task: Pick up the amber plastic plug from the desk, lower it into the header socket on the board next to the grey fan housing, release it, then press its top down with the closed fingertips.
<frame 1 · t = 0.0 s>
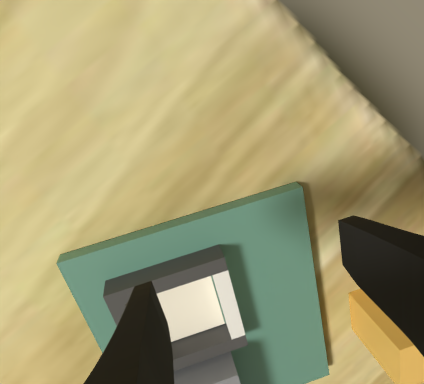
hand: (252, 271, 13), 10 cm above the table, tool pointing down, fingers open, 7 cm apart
plug: (372, 303, 29), on the table
board: (213, 319, 26), on the table
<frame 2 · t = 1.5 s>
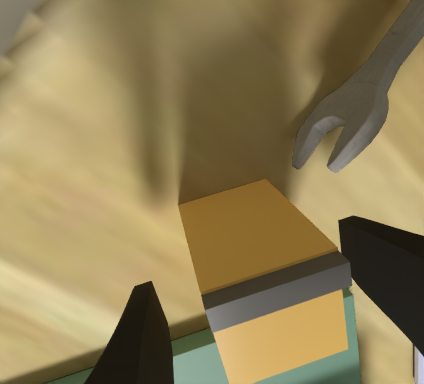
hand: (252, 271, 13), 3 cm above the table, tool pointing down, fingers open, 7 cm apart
plug: (231, 230, 16), on the table
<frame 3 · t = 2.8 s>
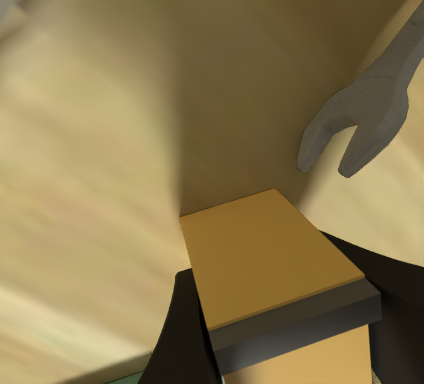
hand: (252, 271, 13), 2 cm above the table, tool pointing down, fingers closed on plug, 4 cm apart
plug: (237, 244, 14), on the table, touching gripper
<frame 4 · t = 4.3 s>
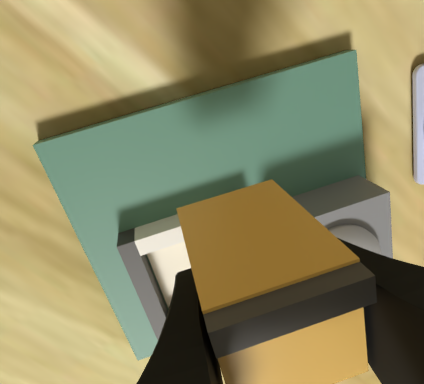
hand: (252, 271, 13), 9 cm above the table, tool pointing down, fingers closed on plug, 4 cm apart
plug: (235, 235, 14), point 7 cm above the table, touching gripper
board: (230, 216, 22), on the table
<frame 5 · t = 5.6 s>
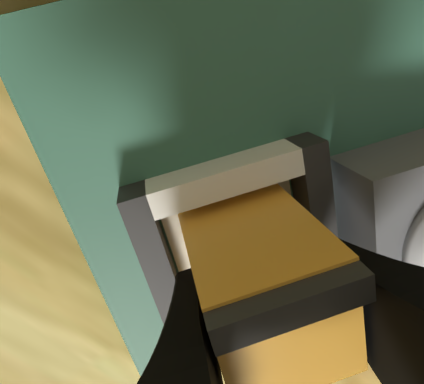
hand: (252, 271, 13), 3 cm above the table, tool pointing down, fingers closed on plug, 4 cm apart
plug: (234, 235, 14), point 1 cm above the table, touching board, gripper
board: (285, 171, 15), on the table
when the fingers open (3 cm above the table, at t = 6.3 s): plug stays where it is, resting on board.
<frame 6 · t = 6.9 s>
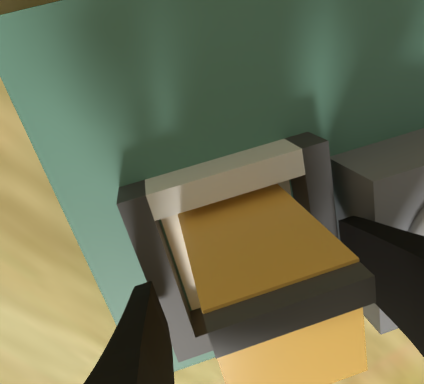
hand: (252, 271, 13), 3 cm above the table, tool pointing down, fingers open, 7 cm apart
plug: (234, 234, 14), point 1 cm above the table, touching board
board: (285, 171, 15), on the table
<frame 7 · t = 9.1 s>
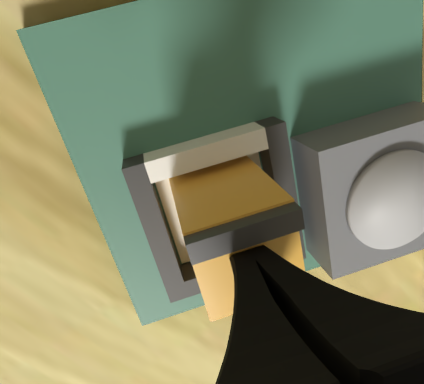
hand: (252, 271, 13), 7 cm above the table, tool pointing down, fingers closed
plug: (215, 200, 18), point 1 cm above the table, touching board
board: (257, 149, 19), on the table
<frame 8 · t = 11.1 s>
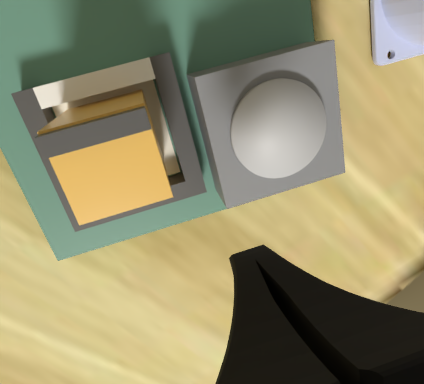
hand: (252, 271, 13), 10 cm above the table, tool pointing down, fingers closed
plug: (118, 135, 19), point 1 cm above the table, touching board
board: (161, 89, 20), on the table
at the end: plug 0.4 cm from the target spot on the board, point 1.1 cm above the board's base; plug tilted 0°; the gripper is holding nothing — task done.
